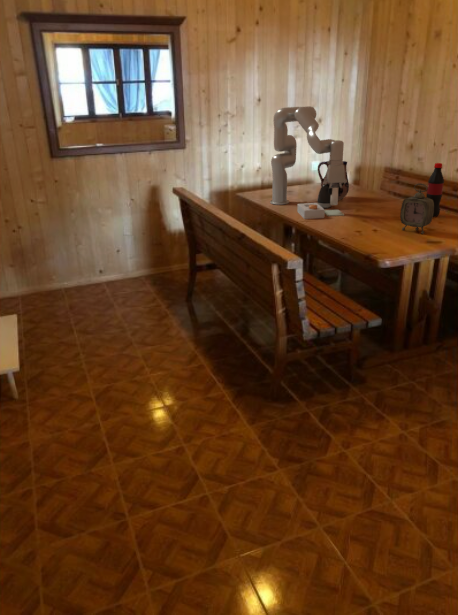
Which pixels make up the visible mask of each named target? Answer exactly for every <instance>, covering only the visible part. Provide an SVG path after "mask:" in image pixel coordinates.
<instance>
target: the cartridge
mask: <svg viewBox="0 0 458 615" xmlns="http://www.w3.org/2000/svg"><path fill="white" fill-rule="evenodd" d="M331 188H332V195H331V199H330V205H332V206H338V204H339V200H338V189H339V184H332V186H331Z"/></svg>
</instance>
